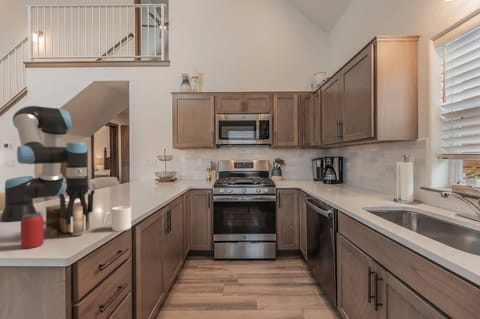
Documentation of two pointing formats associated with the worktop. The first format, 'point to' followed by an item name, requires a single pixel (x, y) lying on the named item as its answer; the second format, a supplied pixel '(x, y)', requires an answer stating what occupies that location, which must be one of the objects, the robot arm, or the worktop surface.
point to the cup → (119, 218)
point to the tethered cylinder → (77, 221)
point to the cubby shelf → (57, 218)
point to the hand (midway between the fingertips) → (77, 230)
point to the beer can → (31, 231)
